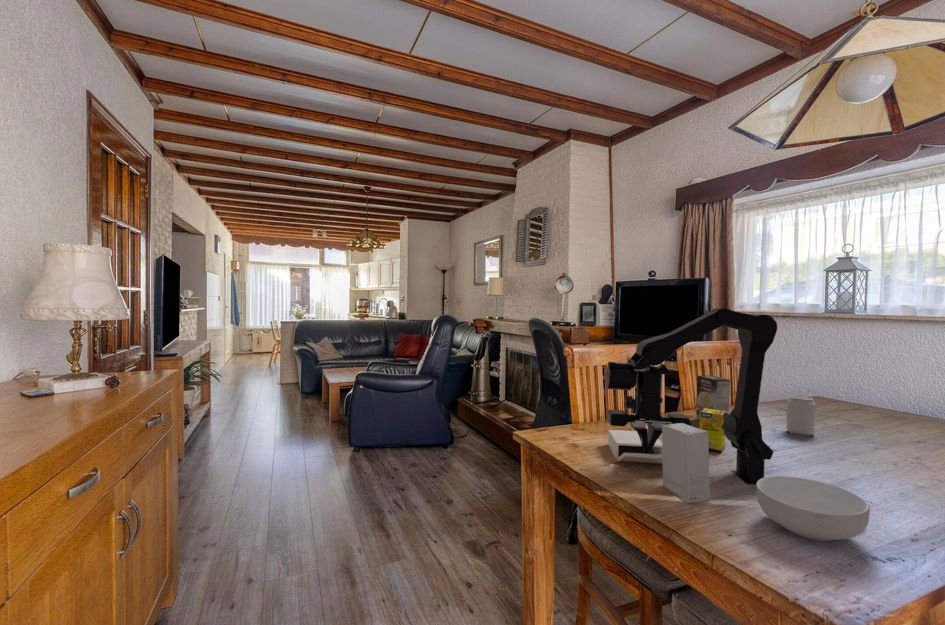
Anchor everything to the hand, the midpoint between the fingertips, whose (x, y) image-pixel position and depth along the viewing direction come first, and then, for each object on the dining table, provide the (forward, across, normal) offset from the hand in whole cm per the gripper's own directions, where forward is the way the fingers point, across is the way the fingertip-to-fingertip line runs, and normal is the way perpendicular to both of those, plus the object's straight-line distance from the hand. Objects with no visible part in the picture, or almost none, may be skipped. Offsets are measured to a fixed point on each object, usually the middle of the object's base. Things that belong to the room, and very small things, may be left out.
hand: (646, 454), depth 108 cm
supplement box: (+4, -24, -23) cm, 33 cm away
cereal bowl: (+5, -23, +23) cm, 33 cm away
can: (+3, -60, -45) cm, 75 cm away
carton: (+4, 0, -13) cm, 14 cm away
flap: (+4, 0, -6) cm, 7 cm away
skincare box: (+5, -5, +11) cm, 13 cm away
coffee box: (+3, -36, -54) cm, 65 cm away
